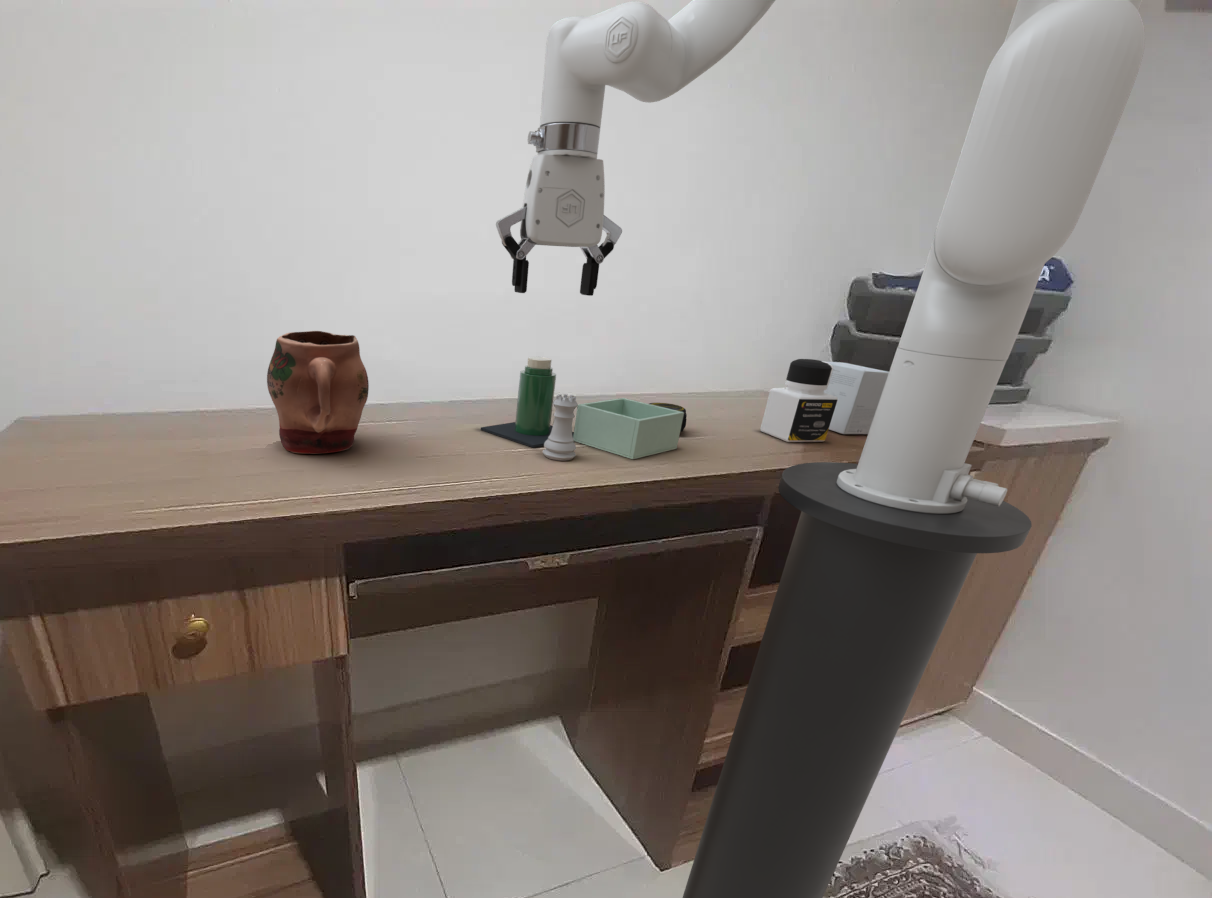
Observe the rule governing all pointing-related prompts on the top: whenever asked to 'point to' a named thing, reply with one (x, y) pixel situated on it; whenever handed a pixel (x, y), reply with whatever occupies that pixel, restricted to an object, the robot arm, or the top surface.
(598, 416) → the case
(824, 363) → the medicine bottle
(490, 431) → the mat
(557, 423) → the rook chess piece
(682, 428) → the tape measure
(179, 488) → the top surface
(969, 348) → the robot arm
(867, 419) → the cosmetics box
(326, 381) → the brown clay mug
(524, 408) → the green bottle
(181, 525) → the top surface
